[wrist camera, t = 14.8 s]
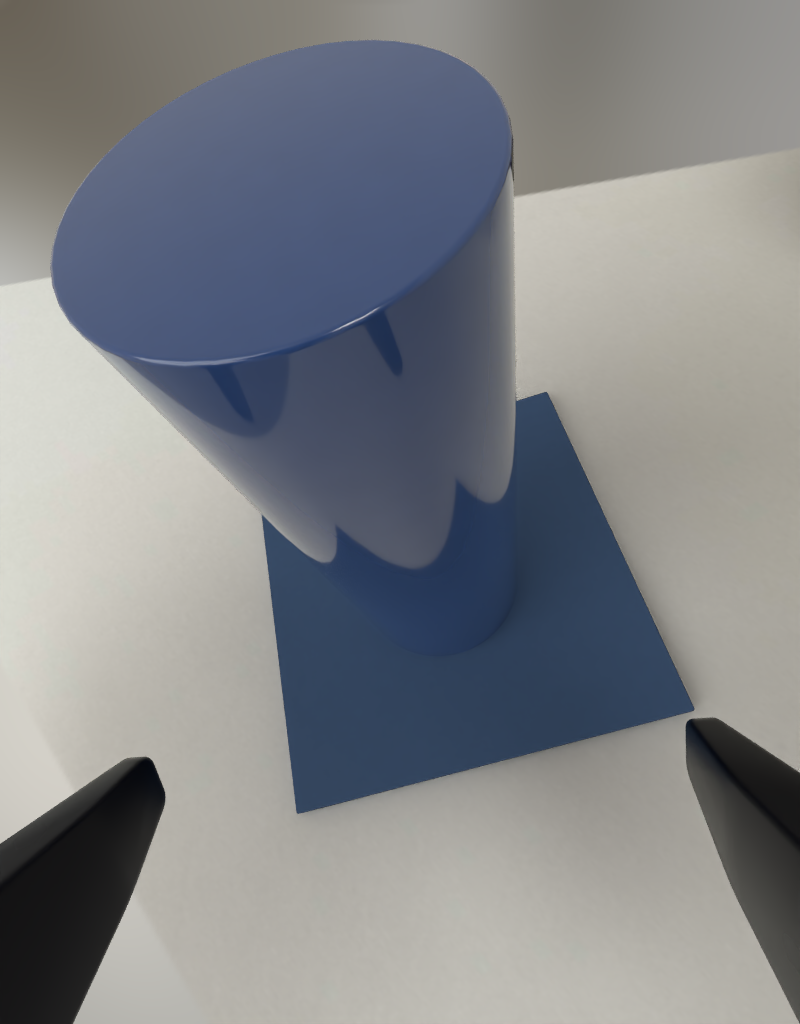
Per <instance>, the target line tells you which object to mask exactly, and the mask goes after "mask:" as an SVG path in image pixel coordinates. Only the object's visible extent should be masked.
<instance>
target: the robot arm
mask: <svg viewBox="0 0 800 1024" xmlns="http://www.w3.org/2000/svg"><path fill="white" fill-rule="evenodd" d="M686 764H687V770H688V774H689V777H690V780H691V783H692V786H693V788H694V791H695V793H696V796H697V799H698V801H699V804H700V806H701V809H702V812H703V814H704V817H705V820H706V822H707V825H708V827H709V830H710V833H711V835H712V838H713V840H714V843H715V846H716V848H717V851H718V854H719V856H720V859H721V861H722V864H723V867H724V869H725V872H726V874H727V877H728V879H729V882H730V884H731V886H732V889H733V891H734V893H735V895H736V897H737V899H738V901H739V903H740V905H741V907H742V909H743V911H744V913H745V915H746V917H747V919H748V921H749V923H750V925H751V927H752V929H753V931H754V933H755V935H756V937H757V939H758V941H759V943H760V945H761V947H762V949H763V951H764V953H765V955H766V957H767V959H768V961H769V963H770V965H771V967H772V969H773V971H774V973H775V975H776V977H777V979H778V981H779V983H780V985H781V987H782V989H783V991H784V993H785V995H786V997H787V999H788V1001H789V1003H790V1005H791V1007H792V1009H793V1011H794V1013H795V1015H796V1017H797V1019H798V1021H799V1023H800V773H799V772H798V771H796V770H795V769H793V768H792V767H790V766H789V765H787V764H786V763H784V762H783V761H781V760H780V759H778V758H777V757H775V756H774V755H772V754H771V753H769V752H768V751H766V750H765V749H763V748H762V747H760V746H759V745H757V744H756V743H754V742H753V741H751V740H750V739H748V738H746V737H745V736H743V735H742V734H740V733H739V732H737V731H736V730H734V729H733V728H731V727H730V726H728V725H727V724H725V723H724V722H722V721H721V720H719V719H717V718H698V719H690V720H689V721H687V724H686ZM164 805H165V791H164V788H163V785H162V783H161V780H160V778H159V775H158V773H157V770H156V768H155V765H154V763H153V761H152V760H151V759H150V758H148V757H134V758H127V759H124V760H123V761H121V762H120V763H118V764H117V765H115V766H114V767H112V768H111V769H109V770H108V771H106V772H105V773H103V774H102V775H101V776H99V777H98V778H96V779H95V780H93V781H92V782H90V783H89V784H87V785H86V786H84V787H83V788H81V789H80V790H79V791H77V792H76V793H74V794H73V795H71V796H70V797H68V798H67V799H65V800H64V801H62V802H61V803H59V804H58V805H57V806H55V807H54V808H53V809H51V810H49V811H48V812H47V813H45V814H43V815H42V816H41V817H39V818H37V819H36V820H35V821H33V822H32V823H30V824H29V825H27V826H26V827H24V828H23V829H21V830H20V831H18V832H17V833H16V834H14V835H13V836H11V837H10V838H8V839H7V840H5V841H4V842H2V843H1V844H0V1024H73V1022H74V1020H75V1018H76V1016H77V1014H78V1012H79V1009H80V1007H81V1005H82V1003H83V1001H84V998H85V996H86V994H87V992H88V989H89V988H90V986H91V983H92V981H93V979H94V977H95V975H96V973H97V971H98V968H99V966H100V964H101V962H102V959H103V958H104V955H105V953H106V951H107V949H108V947H109V945H110V942H111V940H112V938H113V936H114V934H115V932H116V929H117V927H118V925H119V923H120V921H121V919H122V916H123V914H124V912H125V910H126V907H127V905H128V903H129V900H130V898H131V895H132V893H133V890H134V888H135V885H136V883H137V880H138V877H139V874H140V872H141V869H142V866H143V863H144V861H145V858H146V855H147V853H148V850H149V847H150V844H151V842H152V839H153V836H154V833H155V831H156V828H157V825H158V822H159V820H160V817H161V814H162V812H163V809H164Z"/></svg>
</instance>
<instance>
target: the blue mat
mask: <svg viewBox="0 0 800 1024" xmlns="http://www.w3.org/2000/svg"><path fill="white" fill-rule="evenodd" d="M516 413H517V494H518V574H519V576H518V589H517V595H516V598H515V601H514V605H513V607H512V609H511V611H510V613H509V615H508V617H507V618H506V620H505V621H504V623H503V624H502V625H501V627H500V628H499V629H498V630H497V631H496V632H495V633H494V634H493V635H492V636H491V637H489V638H488V639H487V640H486V641H484V642H483V643H481V644H479V645H478V646H476V647H474V648H472V649H470V650H467V651H464V652H461V653H458V654H454V655H448V656H426V655H421V654H416V653H413V652H410V651H407V650H405V649H403V648H401V647H399V646H397V645H395V644H394V643H392V642H391V641H390V640H388V639H387V638H386V637H385V636H384V635H383V634H382V633H381V632H380V631H379V630H378V629H377V628H376V627H375V626H374V625H373V624H372V623H371V622H370V621H369V620H368V619H367V618H366V617H365V616H364V615H363V614H362V613H361V612H360V611H359V610H358V609H357V608H356V607H355V606H354V605H353V604H352V603H351V602H350V601H349V600H348V599H347V598H346V597H345V596H344V595H343V594H342V593H341V592H340V591H339V590H338V589H337V588H336V587H335V586H334V585H333V584H332V583H331V582H330V581H329V580H327V579H326V578H325V577H324V576H323V575H322V574H321V573H320V572H319V571H318V570H317V569H316V568H315V567H314V566H313V565H312V564H311V563H310V562H309V561H308V560H307V559H306V558H305V557H304V556H303V555H302V554H301V553H300V552H299V551H298V550H297V549H296V548H295V547H294V546H293V545H292V544H291V543H290V542H289V541H288V540H287V539H286V538H285V537H284V536H283V535H282V534H281V533H280V532H279V531H278V530H277V529H276V528H275V527H274V526H273V525H272V524H271V523H270V522H269V521H268V520H267V519H266V518H265V517H264V516H263V515H262V521H263V529H264V538H265V546H266V555H267V563H268V572H269V581H270V589H271V598H272V606H273V615H274V623H275V632H276V640H277V649H278V658H279V666H280V675H281V683H282V692H283V700H284V709H285V717H286V726H287V734H288V743H289V752H290V760H291V769H292V777H293V786H294V794H295V803H296V811H297V813H298V814H299V813H304V812H308V811H312V810H315V809H319V808H323V807H327V806H331V805H335V804H338V803H342V802H346V801H350V800H354V799H358V798H361V797H365V796H369V795H373V794H377V793H381V792H384V791H388V790H392V789H396V788H400V787H404V786H407V785H411V784H415V783H419V782H423V781H427V780H430V779H434V778H438V777H442V776H446V775H450V774H453V773H457V772H461V771H465V770H469V769H473V768H476V767H480V766H484V765H488V764H492V763H496V762H499V761H503V760H507V759H511V758H515V757H519V756H522V755H526V754H530V753H534V752H538V751H542V750H545V749H549V748H553V747H557V746H561V745H565V744H568V743H572V742H576V741H580V740H584V739H588V738H592V737H595V736H599V735H603V734H607V733H611V732H615V731H618V730H622V729H626V728H630V727H634V726H638V725H641V724H645V723H649V722H653V721H657V720H661V719H664V718H668V717H672V716H676V715H680V714H684V713H687V712H691V711H694V707H693V705H692V702H691V700H690V698H689V696H688V694H687V692H686V690H685V687H684V685H683V683H682V681H681V679H680V677H679V674H678V672H677V670H676V668H675V666H674V664H673V662H672V659H671V657H670V655H669V653H668V651H667V649H666V647H665V644H664V642H663V640H662V638H661V636H660V634H659V632H658V629H657V627H656V625H655V623H654V621H653V619H652V616H651V614H650V612H649V610H648V608H647V606H646V604H645V601H644V599H643V597H642V595H641V593H640V591H639V589H638V586H637V584H636V582H635V580H634V578H633V576H632V574H631V571H630V569H629V567H628V565H627V563H626V561H625V558H624V556H623V554H622V552H621V550H620V548H619V546H618V543H617V541H616V539H615V537H614V535H613V533H612V531H611V528H610V526H609V524H608V522H607V520H606V518H605V516H604V513H603V511H602V509H601V507H600V505H599V503H598V500H597V498H596V496H595V494H594V492H593V490H592V488H591V485H590V483H589V481H588V479H587V477H586V475H585V473H584V470H583V468H582V466H581V464H580V462H579V460H578V458H577V455H576V453H575V451H574V449H573V447H572V445H571V442H570V440H569V438H568V436H567V434H566V432H565V430H564V427H563V425H562V423H561V421H560V419H559V417H558V415H557V412H556V410H555V408H554V406H553V404H552V402H551V400H550V397H549V395H548V393H547V392H544V393H541V394H538V395H534V396H531V397H528V398H525V399H522V400H518V401H516Z"/></svg>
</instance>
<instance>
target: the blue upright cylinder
mask: <svg viewBox="0 0 800 1024" xmlns="http://www.w3.org/2000/svg"><path fill="white" fill-rule="evenodd" d="M513 178H514V173H513V135H512V129H511V123H510V118H509V115H508V113H507V110H506V108H505V105H504V103H503V101H502V98H501V96H500V95H499V93H498V92H497V91H496V89H495V88H494V86H493V85H492V83H491V82H490V81H489V80H488V79H487V78H486V77H485V76H484V75H483V74H481V73H480V72H479V71H478V70H477V69H476V68H474V67H473V66H471V65H470V64H468V63H466V62H465V61H463V60H462V59H460V58H458V57H456V56H453V55H451V54H448V53H445V52H444V51H441V50H438V49H434V48H430V47H427V46H423V45H419V44H413V43H406V42H400V41H386V40H384V41H383V40H358V41H344V42H335V43H326V44H321V45H315V46H310V47H305V48H299V49H295V50H291V51H288V52H284V53H280V54H276V55H273V56H270V57H267V58H264V59H261V60H257V61H254V62H251V63H249V64H246V65H244V66H242V67H239V68H236V69H234V70H231V71H229V72H227V73H224V74H222V75H220V76H218V77H216V78H214V79H212V80H209V81H207V82H205V83H203V84H201V85H200V86H198V87H196V88H194V89H192V90H191V91H189V92H187V93H185V94H183V95H181V96H180V97H178V98H177V99H175V100H173V101H172V102H170V103H169V104H167V105H166V106H164V107H162V108H161V109H159V110H158V111H157V112H155V113H154V114H153V115H151V116H150V117H148V118H147V119H146V120H144V121H143V122H142V123H140V124H139V125H138V126H137V127H136V128H134V129H133V130H132V131H131V132H129V133H128V134H127V135H126V136H125V137H123V138H122V139H121V140H120V141H119V142H118V143H117V144H116V145H115V146H114V147H113V148H112V149H111V150H110V151H109V152H108V153H107V154H106V155H105V156H104V157H103V158H102V159H101V160H100V161H99V163H98V164H97V165H96V166H95V167H94V168H93V169H92V171H91V172H90V173H89V174H88V175H87V177H86V178H85V180H84V181H83V182H82V184H81V185H80V186H79V188H78V189H77V191H76V192H75V194H74V196H73V197H72V199H71V201H70V202H69V204H68V206H67V208H66V210H65V212H64V214H63V216H62V219H61V221H60V223H59V226H58V228H57V231H56V235H55V239H54V243H53V247H52V254H51V255H52V256H51V267H50V268H51V277H52V286H53V289H54V292H55V295H56V298H57V301H58V303H59V306H60V308H61V310H62V311H63V313H64V315H65V316H66V318H67V319H68V321H69V323H70V324H71V325H72V326H73V327H74V328H75V329H76V330H77V331H78V332H79V333H80V334H81V335H82V336H83V337H84V338H85V339H86V340H87V341H88V342H89V343H90V344H91V345H92V346H93V347H94V348H95V349H96V350H97V351H98V352H99V353H100V354H101V355H102V356H103V357H104V358H105V359H106V360H107V361H108V362H109V363H110V364H111V365H112V366H113V367H114V368H115V369H116V370H117V371H118V372H119V373H120V374H121V375H122V376H123V377H124V378H125V379H126V380H127V381H128V382H129V383H130V384H131V385H132V386H133V387H134V388H135V389H136V390H137V391H138V392H139V393H140V394H141V395H142V396H143V397H144V398H145V399H146V400H147V401H148V402H149V403H150V404H151V405H152V406H153V407H154V408H155V409H156V410H157V411H158V412H159V413H160V414H161V415H162V416H163V417H164V418H165V419H166V420H167V421H168V422H169V423H170V424H171V425H172V426H173V427H174V428H175V429H176V430H177V431H178V432H179V433H180V434H182V435H183V436H184V437H185V438H186V439H187V440H188V441H189V442H190V443H191V444H192V445H193V446H194V447H195V448H196V449H197V450H198V451H199V452H200V453H201V454H202V455H203V456H204V457H205V458H206V459H207V460H208V461H209V462H210V463H211V464H212V465H213V466H214V467H215V468H216V469H217V470H218V471H219V472H220V473H221V474H222V475H223V476H224V477H225V478H226V479H227V480H228V481H229V482H230V483H231V484H232V485H233V486H234V487H235V488H236V489H237V490H238V491H239V492H240V493H241V494H242V495H243V496H244V497H245V498H246V499H247V500H248V501H249V502H250V503H251V504H252V505H253V506H254V507H255V508H256V509H257V510H258V511H259V512H260V513H261V514H262V515H263V516H264V517H265V518H266V519H267V520H268V521H269V522H270V523H271V524H272V525H273V526H274V527H275V528H276V529H277V530H278V531H279V532H280V533H281V534H282V535H283V536H284V537H285V538H286V539H287V540H288V541H289V542H290V543H291V544H292V545H293V546H294V547H295V548H296V549H297V550H298V551H299V552H300V553H301V554H302V555H303V556H304V557H305V558H306V559H307V560H308V561H309V562H310V563H311V564H312V565H313V566H314V567H315V568H316V569H317V570H318V571H319V572H320V573H321V574H322V575H323V576H324V577H325V578H326V579H327V580H329V581H330V582H331V583H332V584H333V585H334V586H335V587H336V588H337V589H338V590H339V591H340V592H341V593H342V594H343V595H344V596H345V597H346V598H347V599H348V600H349V601H350V602H351V603H352V604H353V605H354V606H355V607H356V608H357V609H358V610H359V611H360V612H361V613H362V614H363V615H364V616H365V617H366V618H367V619H368V620H369V621H370V622H371V623H372V624H373V625H374V626H375V627H376V628H377V629H378V630H379V631H380V632H381V633H382V634H383V635H384V636H385V637H386V638H387V639H388V640H390V641H391V642H392V643H394V644H395V645H397V646H399V647H401V648H403V649H405V650H407V651H410V652H413V653H416V654H421V655H426V656H448V655H454V654H458V653H461V652H464V651H467V650H470V649H472V648H474V647H476V646H478V645H479V644H481V643H483V642H484V641H486V640H487V639H488V638H489V637H491V636H492V635H493V634H494V633H495V632H496V631H497V630H498V629H499V628H500V627H501V625H502V624H503V623H504V621H505V620H506V618H507V617H508V615H509V613H510V611H511V609H512V607H513V605H514V601H515V598H516V595H517V589H518V576H519V574H518V494H517V413H516V333H515V253H514V179H513Z"/></svg>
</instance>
